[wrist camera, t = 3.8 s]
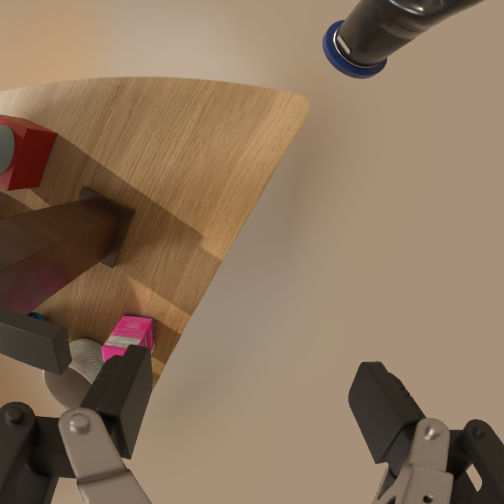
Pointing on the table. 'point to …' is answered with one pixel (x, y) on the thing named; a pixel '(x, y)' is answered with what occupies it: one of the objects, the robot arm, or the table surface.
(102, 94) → the table surface
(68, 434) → the robot arm
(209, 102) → the table surface
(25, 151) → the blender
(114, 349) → the supplement box
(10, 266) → the stand
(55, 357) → the lid
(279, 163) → the table surface
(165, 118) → the table surface
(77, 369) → the planter
